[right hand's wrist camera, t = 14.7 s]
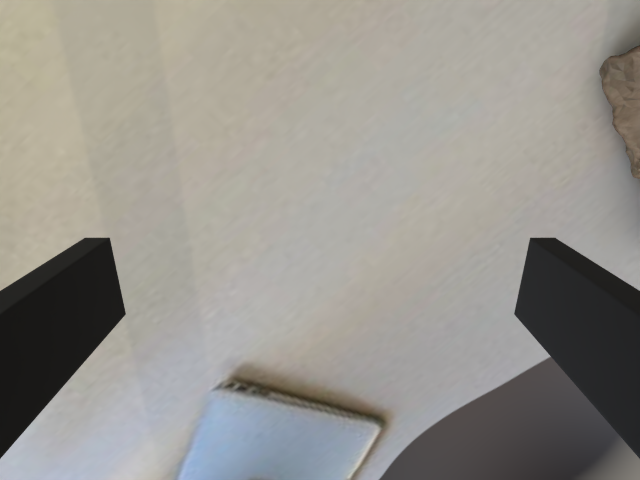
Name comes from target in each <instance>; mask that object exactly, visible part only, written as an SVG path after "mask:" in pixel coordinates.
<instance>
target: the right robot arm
mask: <svg viewBox="0 0 640 480" xmlns="http://www.w3.org/2000/svg"><path fill="white" fill-rule="evenodd" d="M125 314H126V313H125V308H124V304H123V299H122V294H121V289H120V285H119V280H118V275H117V270H116V266H115V261H114V256H113V251H112V247H111V242H110V238H84V239H82V240H81V241H79V242H78V243H76V244H74V245H73V246H71V247H70V248H68V249H67V250H65V251H63V252H62V253H60V254H59V255H57V256H55V257H54V258H52V259H51V260H49V261H47V262H46V263H44V264H43V265H41V266H39V267H38V268H36V269H35V270H33V271H31V272H30V273H28V274H27V275H25V276H24V277H22V278H20V279H19V280H17V281H16V282H14V283H12V284H11V285H9V286H8V287H6V288H4V289H3V290H1V291H0V458H1V457H2V456H3V455H4V454H5V453H6V451H7V450H8V449H9V448H10V447H11V446H12V444H13V443H14V442H15V441H16V440H17V439H18V438H19V436H20V435H21V434H22V433H23V432H24V431H25V429H26V428H27V427H28V426H29V425H30V424H31V423H32V421H33V420H34V419H35V418H36V417H37V416H38V415H39V413H40V412H41V411H42V410H43V409H44V408H45V406H46V405H47V404H48V403H49V402H50V401H51V400H52V398H53V397H54V396H55V395H56V394H57V393H58V392H59V390H60V389H61V388H62V387H63V386H64V385H65V383H66V382H67V381H68V380H69V379H70V378H71V377H72V375H73V374H74V373H75V372H76V371H77V370H78V368H79V367H80V366H81V365H82V364H83V363H84V362H85V360H86V359H87V358H88V357H89V356H90V355H91V354H92V352H93V351H94V350H95V349H96V348H97V347H98V345H99V344H100V343H101V342H102V341H103V340H104V339H105V337H106V336H107V335H108V334H109V333H110V332H111V330H112V329H113V328H114V327H115V326H116V325H117V324H118V322H119V321H120V320H121V319H122V318H123V317H124V316H125ZM514 314H515V316H516V317H517V318H518V319H519V320H520V321H521V322H522V324H523V325H524V326H525V327H526V328H527V329H528V330H529V332H530V333H531V334H532V335H533V336H534V337H535V339H536V340H537V341H538V342H539V343H540V344H541V345H542V347H543V348H544V349H545V350H546V351H547V352H548V354H549V355H550V356H551V357H552V358H553V359H554V360H555V362H556V363H557V364H558V365H559V366H560V367H561V368H562V370H563V371H564V372H565V373H566V374H567V375H568V377H569V378H570V379H571V380H572V381H573V382H574V383H575V385H576V386H577V387H578V388H579V389H580V390H581V392H582V393H583V394H584V395H585V396H586V397H587V398H588V400H589V401H590V402H591V403H592V404H593V405H594V406H595V408H596V409H597V410H598V411H599V412H600V413H601V415H602V416H603V417H604V418H605V419H606V420H607V421H608V423H609V424H610V425H611V426H612V427H613V428H614V429H615V431H616V432H617V433H618V434H619V435H620V436H621V438H622V439H623V440H624V441H625V442H626V443H627V444H628V446H629V447H630V448H631V449H632V450H633V451H634V453H635V454H636V455H637V456H638V457H639V458H640V291H639V290H637V289H636V288H634V287H632V286H631V285H629V284H628V283H626V282H624V281H623V280H621V279H620V278H618V277H616V276H615V275H613V274H612V273H610V272H609V271H607V270H605V269H604V268H602V267H601V266H599V265H597V264H596V263H594V262H593V261H591V260H589V259H588V258H586V257H585V256H583V255H581V254H580V253H578V252H577V251H575V250H573V249H572V248H570V247H569V246H567V245H566V244H564V243H562V242H561V241H559V240H558V239H556V238H530V242H529V247H528V251H527V256H526V261H525V266H524V270H523V275H522V280H521V285H520V289H519V294H518V299H517V304H516V308H515V313H514Z"/></svg>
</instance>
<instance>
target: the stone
mask: <svg viewBox="0 0 640 480" xmlns="http://www.w3.org/2000/svg"><path fill="white" fill-rule="evenodd" d="M600 75H601V77H602V87H603V90H604V93H605V95H606V97H607V99H608V101H609V103H610V104H611V105H612V107H613V116H614V119H613V123H612V124H613V126H614V128H615V129H616V131H617V132H618V133H619V134H620V135H621V136H622V137H623V139H624V141H625V143H626V153H627V154H628V156H629V158H630V161H631V173H632V175H633V177H634V178H639V179H640V46H637V47H635V48H633V49H631V50H629V51H628V52H627V53H625V54H622V55H619V56H611V57H609V58H608V59H607V60H605V61H604V63H603V65H602V67H601V68H600Z"/></svg>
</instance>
